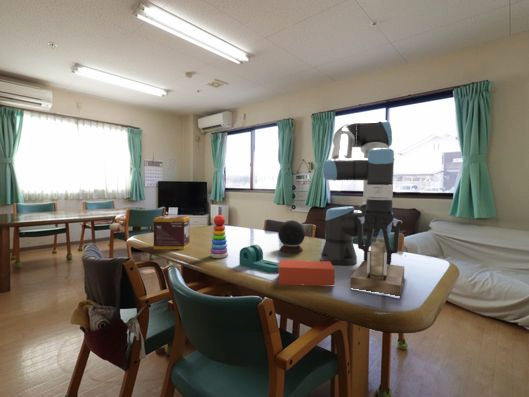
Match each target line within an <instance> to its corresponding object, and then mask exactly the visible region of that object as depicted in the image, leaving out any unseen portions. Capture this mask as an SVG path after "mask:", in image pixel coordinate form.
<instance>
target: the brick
mask: <svg viewBox="0 0 529 397" xmlns="http://www.w3.org/2000/svg"><path fill="white" fill-rule="evenodd" d="M278 263H279V273H278V285H283V286H287V285H288V286H302V285H301V284H304V285H303V286H308V285H334V286H335V271H336V270H335V267H334V266H333V264H331V262H330V261H322V260H321V261H320V260H312V261H306V260H295V259H293V260H292V259H287V260H286V259H279V262H278Z"/></svg>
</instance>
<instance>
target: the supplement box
mask: <svg viewBox="0 0 529 397" xmlns="http://www.w3.org/2000/svg"><path fill="white" fill-rule="evenodd" d="M190 244H191V243H190V216H189V215H185V216H183V215H181V216H180V215H162V216H158V217H154V218H153V250H171V249H184V250H185V249H187V248H188V247H189V246H190ZM186 247H187V248H186Z"/></svg>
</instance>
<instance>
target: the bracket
mask: <svg viewBox="0 0 529 397" xmlns="http://www.w3.org/2000/svg"><path fill="white" fill-rule="evenodd" d="M263 251H264V250H263V249H262V247H261V246H260V245H259V244H252V245H250V246H245V247H242V248H241V249H240V250H239V262H238V264H239V266H241V267H244V268H249V269H253V270H258V271H261V272H266V273H270V274H277V273H278V274H279V262H276V261H271V260H267V259H264V253H263Z"/></svg>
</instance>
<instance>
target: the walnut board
mask: <svg viewBox="0 0 529 397" xmlns="http://www.w3.org/2000/svg"><path fill="white" fill-rule="evenodd" d="M375 242H380V243H384V244H385V241H384V238H376V239H375ZM385 253H387V252H386V247H385ZM403 279H404V280H405V265H404V266H403V265H398V264H390V265H389V264H387V274H386V276H385V275H384V280H378V279H372V278H370V273H367V261H364V260H362V262H361V263H360V265H359V266H358V267H357V269H356V270H355V271H354V272H353V273H352V275H351V276H350V288H353V289H359V290H366V291H371V292H379V293H384V294H390V295H395V296H400V294H401V295H402V291H401V289H403V286H402V284H403V285H404V280H403ZM350 288H349V289H350ZM400 297H401V296H400Z"/></svg>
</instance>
